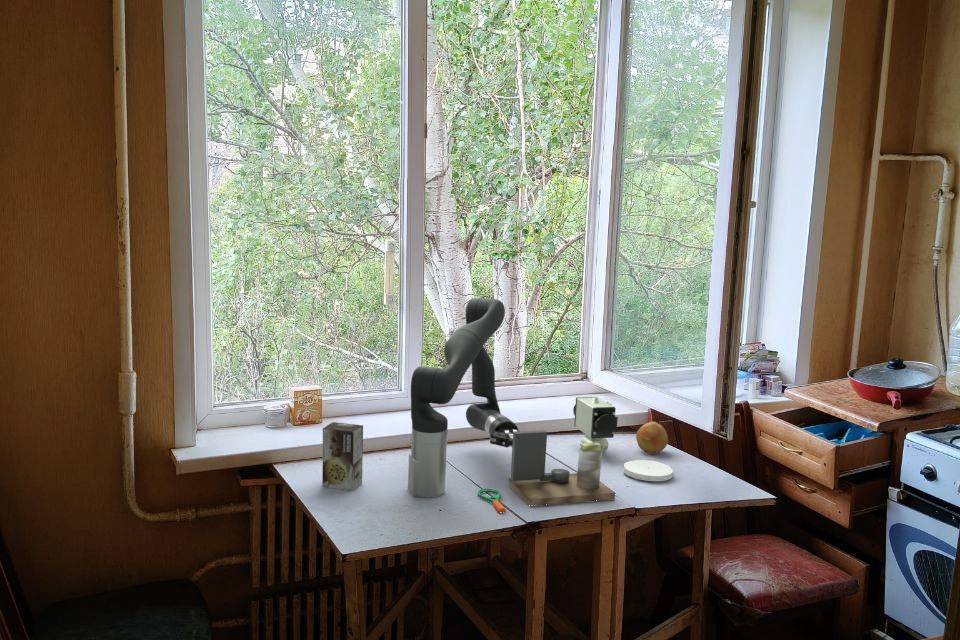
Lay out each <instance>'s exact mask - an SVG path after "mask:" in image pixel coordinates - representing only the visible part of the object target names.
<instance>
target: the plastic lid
mask: <svg viewBox="0 0 960 640" xmlns="http://www.w3.org/2000/svg"><path fill="white" fill-rule="evenodd" d="M673 469H674V468H672V467H671V466H670V465H667V464H665V463H663V462H658V461H655V460H647V459H635V460H629V461H627V462H624V464H623V473H624V474H625V475H626V476H629V477H630V478H633V479H636V480H641V481H645V482H646V481H647V482H648V481H649V482H665V481H669V480H671V479H672V478H673V475H674V470H673Z"/></svg>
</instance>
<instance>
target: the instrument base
mask: <svg viewBox="0 0 960 640" xmlns="http://www.w3.org/2000/svg"><path fill="white" fill-rule="evenodd" d="M602 454H603V453H602V450H601V445H600V444H599V443H582V442H581V443H580V447H579V448H578V461H577V473H576V472H575V473H574V472H573V473H570V476H569V482H568V483H563V484H561V483H555V482H552V481H540V480H539V479H537V480H522V481H512V480H511V477H508V483H507V484H509V485H508V486H509V488H511V489H512V490H513V491H514V492H515V493H516V494H517V495H518V496H519V497H520V499H522V501H524V503H525V504H526V505H527V506H529V505H530V506H531V505H544V506H549V505H548V504H557V505H565V504H564V503H570V504H577V503H576V502H582V503H587V502H586V501H595V502H599V501H598V500H608V501H613V500H612V499H616V492H615V491H614V490H612V489H611V488H610V487H609V486H607V485H606V484H605V483H603V482H602V481H601V467H602V465H601V464H602ZM596 500H597V501H596ZM574 502H575V503H574ZM546 504H547V505H546Z"/></svg>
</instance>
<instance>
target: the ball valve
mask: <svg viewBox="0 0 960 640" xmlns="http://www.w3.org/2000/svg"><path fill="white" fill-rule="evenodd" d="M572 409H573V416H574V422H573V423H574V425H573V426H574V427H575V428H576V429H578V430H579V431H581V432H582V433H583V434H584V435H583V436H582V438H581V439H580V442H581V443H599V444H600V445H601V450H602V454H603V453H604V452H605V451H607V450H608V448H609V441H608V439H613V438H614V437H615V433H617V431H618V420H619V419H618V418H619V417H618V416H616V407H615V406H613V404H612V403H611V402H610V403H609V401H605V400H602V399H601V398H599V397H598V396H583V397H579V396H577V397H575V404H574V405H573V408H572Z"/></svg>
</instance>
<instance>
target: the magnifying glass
mask: <svg viewBox="0 0 960 640" xmlns="http://www.w3.org/2000/svg"><path fill="white" fill-rule="evenodd" d="M483 492H493V493H492V494H494V493H496V494H495V496H485V495H482V494H481V493H483ZM483 494H484V493H483ZM497 494H498V495H497ZM501 495H502V494H501V491H499V490H497V489H494V488H481V489H479V490H477V497H478V498H479V497H480V498H479V499H481V498H482V499H481V500H483V499H484V500H483V501H485V500H487V501H489V502H491V503H492V504H493V505H494V506H493V505H492V504H491V503H490V504H491V505H492V506H493V507H494V509H495V510H496V509H497V510H496V511H497V513H498V514H500V512H502V513H501V514H504V513H503V512H505V513H506V512H507V509H506V508H505V507H504V506H503V504H502V503H501V502H500V500H501V498H500V497H501ZM499 499H500V500H499ZM487 501H486V502H487ZM489 502H488V503H489Z"/></svg>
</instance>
